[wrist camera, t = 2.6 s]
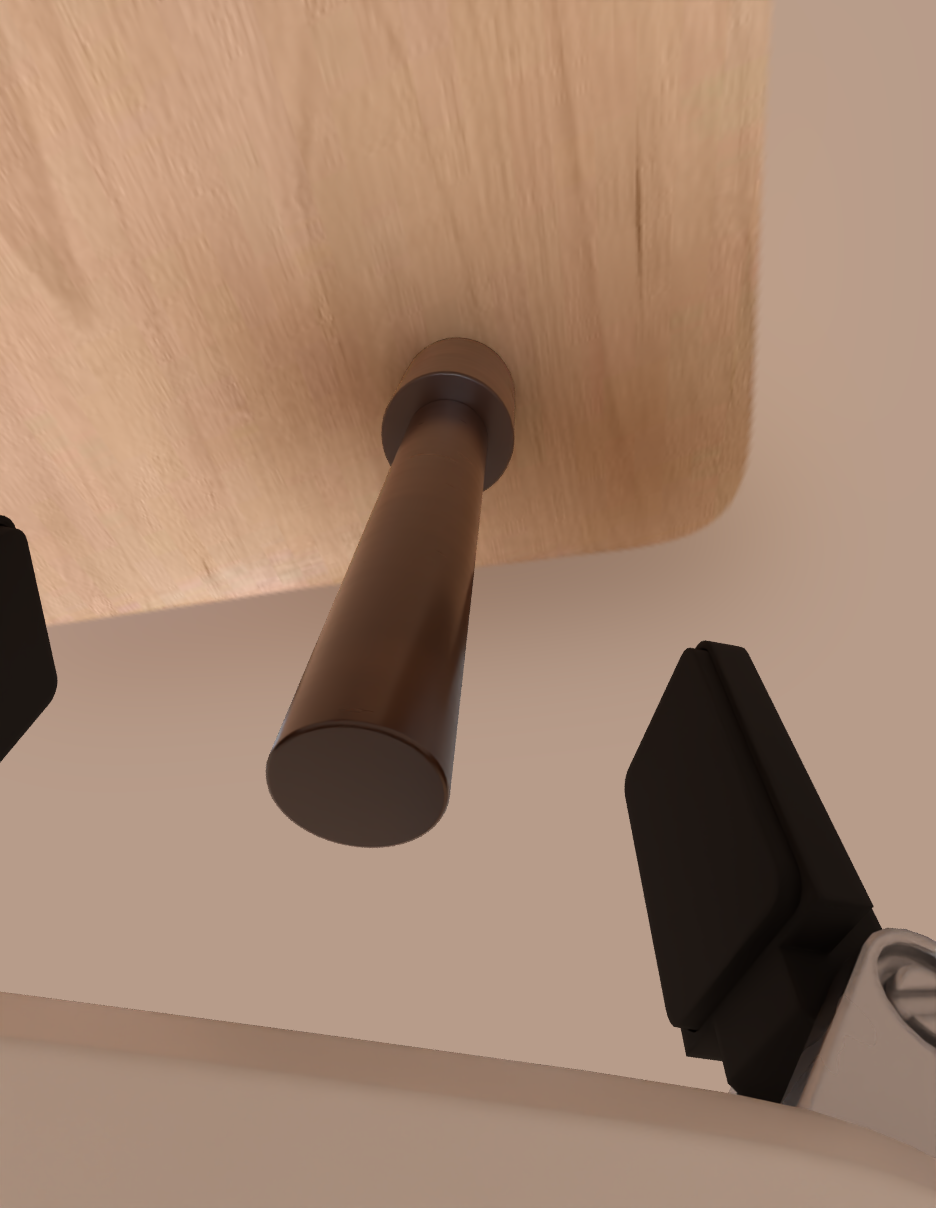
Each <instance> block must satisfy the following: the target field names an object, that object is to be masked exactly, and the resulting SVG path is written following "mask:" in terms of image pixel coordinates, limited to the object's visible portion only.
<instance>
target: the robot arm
mask: <svg viewBox="0 0 936 1208" xmlns="http://www.w3.org/2000/svg"><path fill="white" fill-rule="evenodd" d="M56 688H57V674H56V669H55V665H54V660H53V656H52V651H51V647H50V642H49V637H48V633H47V628H46V624H45V619H44V615H43V610H42V606H41V601H40V596H39V592H38V587H37V583H36V578H35V574H34V569H33V565H32V560H31V556H30V551H29V546H28V542H27V539H26V536H25V534H24V533H23V532H22V531H21V530H19V529H16V528H15V525H14V523H13V522H12V521H11V520H10V519H9V518H7V517H5V516H2V515H0V762H1V761H2V760H3V758H4V757H5V756H6V755H7V754H8V752H9V751H10V750H11V749H12V748H13V746H14V745H15V744H16V743H17V742H18V740H19V739H20V738H21V737H22V736H23V735H24V733H25V732H26V731H27V730H28V729H29V727H30V726H31V725H32V724H33V722H34V721H35V720H36V719H37V718H38V717H39V715H40V714H41V713H42V712H43V711H44V709H45V708H46V707H47V706H48V704H49V703H50V702H51V700H52V699H53V697H54V694H55V692H56ZM625 798H626V803H627V808H628V813H629V819H630V824H631V829H632V835H633V840H634V845H635V850H636V856H637V861H638V866H639V871H640V876H641V882H642V887H643V892H644V898H645V903H646V908H647V913H648V918H649V923H650V929H651V934H652V939H653V945H654V950H655V955H656V960H657V966H658V971H659V976H660V981H661V987H662V992H663V997H664V1002H665V1007H666V1012H667V1016H668V1018H669V1020H670V1023H671V1024H672V1025H673V1026H674V1027H678V1028H681V1032H682V1036H683V1042H684V1047H685V1052H686V1056H688V1057H695V1058H703V1059H710V1060H718V1061H723V1065H724V1069H725V1074H726V1077H727V1082H728V1084H729V1085H730V1086H731V1088H730V1090H729V1092H728V1093H724V1092H718V1091H711V1090H705V1089H699V1088H692V1087H686V1086H680V1085H674V1084H667V1083H660V1082H654V1081H647V1080H642V1079H635V1078H628V1077H622V1076H616V1075H610V1074H604V1073H597V1072H591V1071H584V1070H577V1069H570V1068H562V1067H555V1066H548V1065H541V1064H534V1063H526V1062H519V1061H511V1060H505V1059H497V1058H490V1057H483V1056H475V1055H469V1054H461V1053H454V1052H447V1051H439V1050H432V1049H425V1048H418V1047H411V1046H403V1045H396V1044H389V1043H382V1042H374V1041H367V1040H360V1039H353V1038H346V1037H338V1036H330V1035H323V1034H316V1033H308V1032H300V1031H293V1030H285V1029H278V1028H271V1027H263V1026H255V1025H248V1024H241V1023H233V1022H226V1021H218V1020H210V1019H203V1018H196V1017H188V1016H180V1015H173V1014H166V1013H158V1012H151V1011H143V1010H135V1009H128V1008H119V1007H113V1006H105V1005H97V1004H90V1003H83V1002H75V1001H67V1000H59V999H52V998H45V997H37V996H29V995H21V994H13V993H6V992H0V1208H936V942H935V941H934V940H932V939H930V938H928V937H926V936H924V935H921V934H918V933H915V932H912V931H909V930H906V929H896V928H895V929H894V928H885V929H882V928H881V926H880V924H879V922H878V920H877V918H876V916H875V914H874V912H873V910H872V907H873V904H872V902H871V900H870V898H869V896H868V894H867V892H866V890H865V888H864V886H863V884H862V882H861V880H860V878H859V876H858V874H857V872H856V870H855V868H854V866H853V864H852V862H851V860H850V858H849V856H848V854H847V852H846V850H845V848H844V846H843V844H842V842H841V840H840V838H839V836H838V834H837V832H836V830H835V828H834V826H833V824H832V822H831V820H830V818H829V815H828V813H827V811H826V809H825V807H824V805H823V803H822V801H821V799H820V797H819V795H818V794H817V791H816V789H815V787H814V785H813V783H812V781H811V779H810V777H809V775H808V773H807V771H806V769H805V767H804V765H803V763H802V761H801V759H800V757H799V755H798V753H797V751H796V749H795V747H794V745H793V743H792V741H791V739H790V737H789V735H788V733H787V731H786V729H785V727H784V725H783V723H782V721H781V719H780V717H779V715H778V713H777V711H776V709H775V707H774V705H773V703H772V700H771V698H770V697H769V695H768V692H767V690H766V688H765V686H764V684H763V682H762V680H761V678H760V676H759V674H758V672H757V670H756V668H755V666H754V664H753V662H752V660H751V658H750V656H749V654H748V653H747V651H746V650H745V649H744V648H742V647H739V646H734V645H728V644H722V643H717V642H711V641H702V642H700V643H699V644H698V645H697V647H696V648H695V649H694V648H687V649H686V650H685V651H684V652H683V654H682V656H681V657H680V660H679V662H678V664H677V666H676V668H675V670H674V673H673V675H672V677H671V679H670V681H669V683H668V685H667V687H666V690H665V692H664V694H663V696H662V698H661V700H660V703H659V705H658V707H657V709H656V711H655V713H654V715H653V717H652V720H651V722H650V724H649V726H648V728H647V730H646V732H645V734H644V737H643V739H642V741H641V743H640V745H639V747H638V749H637V752H636V754H635V756H634V758H633V760H632V762H631V764H630V767H629V769H628V771H627V774H626V779H625Z"/></svg>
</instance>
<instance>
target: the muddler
mask: <svg viewBox="0 0 936 1208" xmlns="http://www.w3.org/2000/svg"><path fill="white" fill-rule="evenodd" d="M514 420H515V390H514V384H513V380H512V377H511V374H510V372H509V370H508V368H507V366H506V365H505V363H504V362H503V360H502V359H501V358H500V357H499V356H498V355H497V354H496V353H495V352H494V351H493V350H491V349H490V348H489V347H487V346H485V345H484V344H482V343H479V342H477V341H474V340H470V339H465V338H449V339H444V340H440V341H437V342H435V343H433V344H431V345H429V346H428V347H426V348H424V349H423V350H422V351H421V352H420V353H419V354H418V355H417V356H416V357H415V358H414V359H413V361H412V362H411V364H410V365H409V367H408V369H407V371H406V373H405V374H404V376H403V378H402V380H401V382H400V384H399V386H398V387H397V389H396V391H395V393H394V395H393V397H392V398H391V400H390V402H389V404H388V406H387V408H386V411H385V414H384V417H383V422H382V431H381V436H382V444H383V449H384V452H385V455H386V458H387V460H388V462H389V464H390V466H391V468H390V470H389V472H388V475H387V477H386V480H385V482H384V484H383V487H382V489H381V491H380V494H379V496H378V499H377V501H376V503H375V506H374V508H373V510H372V513H371V515H370V517H369V520H368V522H367V525H366V527H365V529H364V532H363V534H362V536H361V539H360V541H359V544H358V546H357V548H356V551H355V553H354V555H353V558H352V560H351V562H350V565H349V567H348V570H347V572H346V574H345V577H344V579H343V581H342V584H341V586H340V589H339V591H338V593H337V596H336V598H335V600H334V603H333V605H332V608H331V610H330V612H329V615H328V617H327V619H326V622H325V624H324V627H323V629H322V631H321V634H320V636H319V638H318V641H317V643H316V646H315V648H314V650H313V653H312V655H311V657H310V660H309V662H308V664H307V667H306V669H305V672H304V674H303V676H302V679H301V681H300V683H299V686H298V688H297V690H296V693H295V695H294V698H293V700H292V702H291V705H290V707H289V710H288V712H287V714H286V717H285V719H284V721H283V724H282V726H281V728H280V731H279V733H278V736H277V738H276V740H275V743H274V745H273V747H272V750H271V752H270V754H269V757H268V760H267V764H266V780H267V785H268V789H269V792H270V794H271V796H272V799H273V800H274V802H275V803H276V805H277V806H278V807H279V808H280V810H281V811H282V812H283V813H284V814H285V815H286V816H287V817H288V818H289V819H290V820H291V821H293V822H294V823H295V824H297V825H298V826H300V827H301V828H303V829H304V830H306V831H308V832H310V833H312V834H314V835H316V836H318V837H321V838H323V839H326V840H328V841H332V842H335V843H338V844H343V845H348V846H354V847H364V848H378V847H379V848H380V847H389V846H395V845H399V844H404V843H407V842H410V841H412V840H415V839H417V838H419V837H421V836H422V835H424V834H426V833H427V832H428V831H430V830H431V829H432V828H433V827H434V826H435V825H436V824H437V823H438V822H439V821H440V819H441V818H442V816H443V814H444V813H445V811H446V809H447V806H448V803H449V797H450V789H451V779H452V770H453V761H454V751H455V742H456V733H457V724H458V715H459V706H460V696H461V687H462V677H463V668H464V660H465V650H466V640H467V632H468V623H469V614H470V605H471V595H472V586H473V577H474V568H475V559H476V549H477V540H478V531H479V522H480V512H481V503H482V494H483V491H485V490H487V489H488V488H489V487H491V486H492V485H493V484H494V483H495V482H496V481H497V480H498V479H499V478H500V477H501V476H502V474H503V473H504V471H505V470H506V468H507V466H508V464H509V462H510V459H511V456H512V453H513V447H514Z"/></svg>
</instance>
